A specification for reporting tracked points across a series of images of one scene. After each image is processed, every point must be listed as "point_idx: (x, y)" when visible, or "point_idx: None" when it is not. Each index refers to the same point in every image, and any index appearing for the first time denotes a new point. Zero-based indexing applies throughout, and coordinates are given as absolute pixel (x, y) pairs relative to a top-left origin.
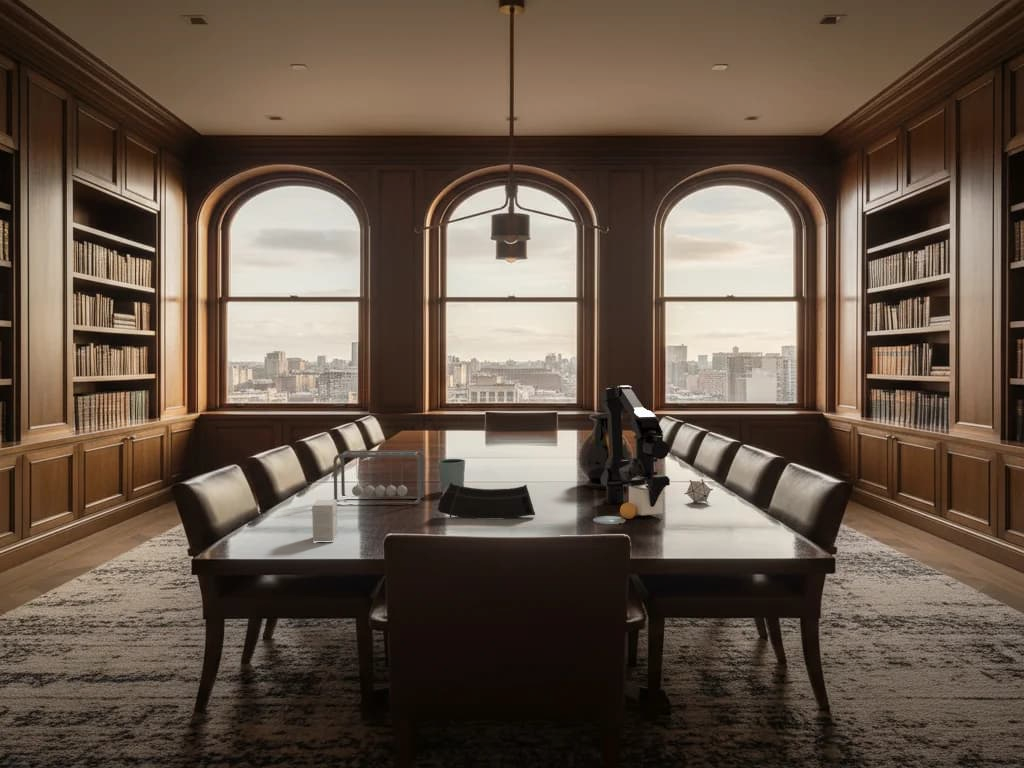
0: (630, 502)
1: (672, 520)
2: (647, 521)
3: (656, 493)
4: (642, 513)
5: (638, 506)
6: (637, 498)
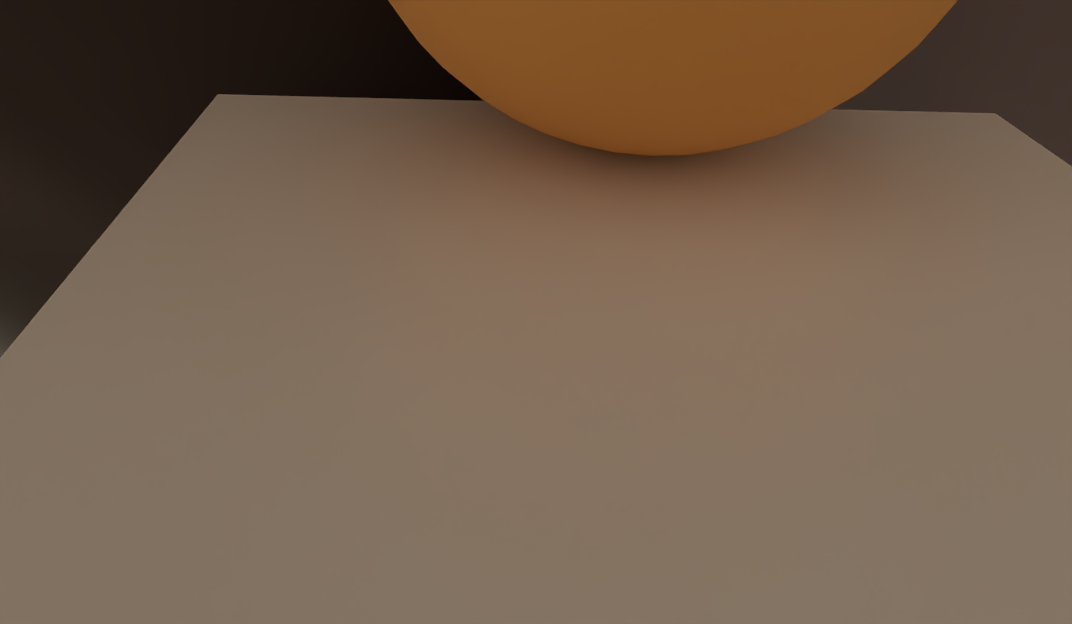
0: (1044, 235)
1: None
2: (114, 123)
3: None
4: (200, 133)
5: (404, 202)
6: (489, 404)
